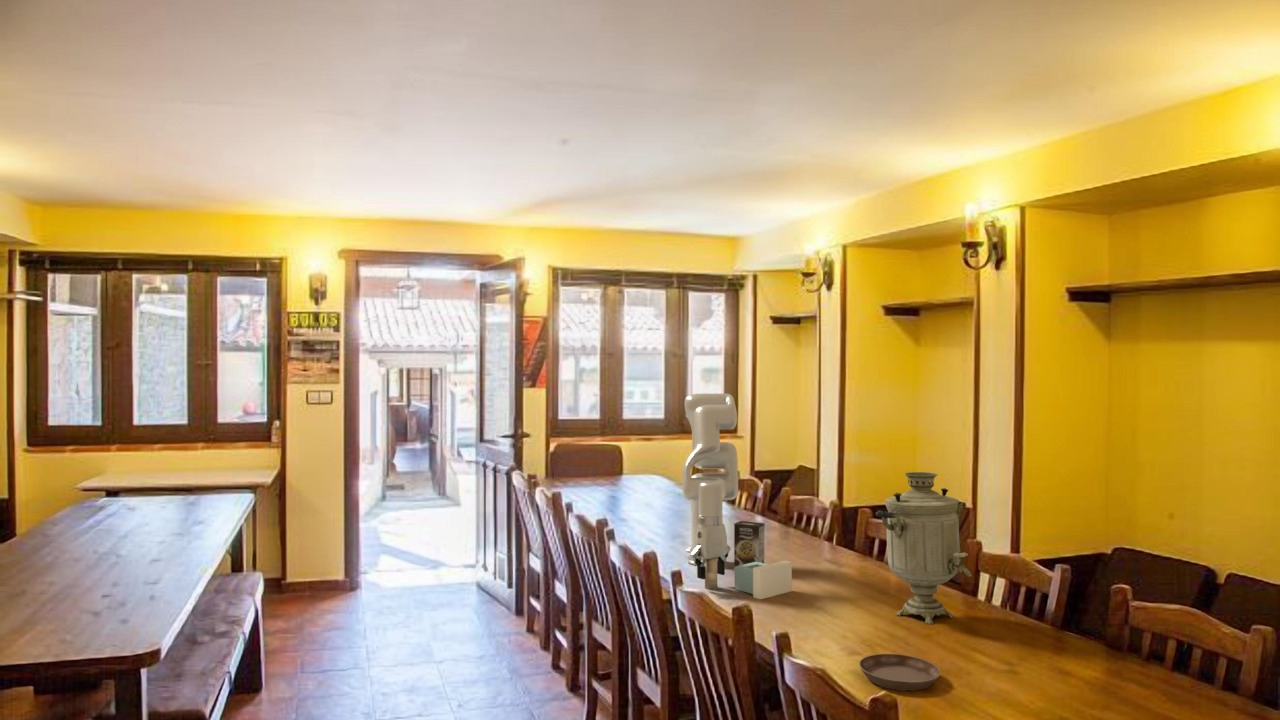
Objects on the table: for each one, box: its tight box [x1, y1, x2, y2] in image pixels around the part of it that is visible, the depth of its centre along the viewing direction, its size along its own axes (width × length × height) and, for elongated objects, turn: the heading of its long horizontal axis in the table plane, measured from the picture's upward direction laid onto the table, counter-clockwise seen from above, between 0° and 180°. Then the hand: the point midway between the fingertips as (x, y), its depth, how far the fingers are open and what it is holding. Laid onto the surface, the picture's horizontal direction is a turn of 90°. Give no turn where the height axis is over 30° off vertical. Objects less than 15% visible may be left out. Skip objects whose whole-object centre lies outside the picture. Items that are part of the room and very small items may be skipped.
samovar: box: [875, 471, 972, 625], centre depth 241 cm, size 30×26×40 cm
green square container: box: [734, 562, 768, 595], centre depth 272 cm, size 10×10×7 cm
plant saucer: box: [858, 653, 941, 691], centre depth 197 cm, size 18×18×3 cm
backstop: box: [752, 560, 793, 600], centre depth 267 cm, size 3×14×9 cm, turn 129°
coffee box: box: [733, 520, 766, 571], centre depth 297 cm, size 9×6×16 cm
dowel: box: [704, 557, 718, 591], centre depth 274 cm, size 4×4×10 cm
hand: (711, 576), depth 274 cm, fingers open, 7 cm apart
